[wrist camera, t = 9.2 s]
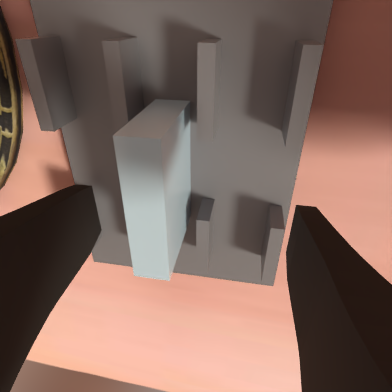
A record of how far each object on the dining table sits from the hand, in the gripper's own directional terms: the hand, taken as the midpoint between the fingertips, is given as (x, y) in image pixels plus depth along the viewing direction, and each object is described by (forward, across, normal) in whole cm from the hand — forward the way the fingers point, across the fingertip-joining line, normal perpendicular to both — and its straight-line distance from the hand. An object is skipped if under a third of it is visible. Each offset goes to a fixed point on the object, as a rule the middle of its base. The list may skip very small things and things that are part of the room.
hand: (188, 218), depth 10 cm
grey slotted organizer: (+9, +3, +2) cm, 10 cm away
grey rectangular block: (+8, +3, +2) cm, 9 cm away
